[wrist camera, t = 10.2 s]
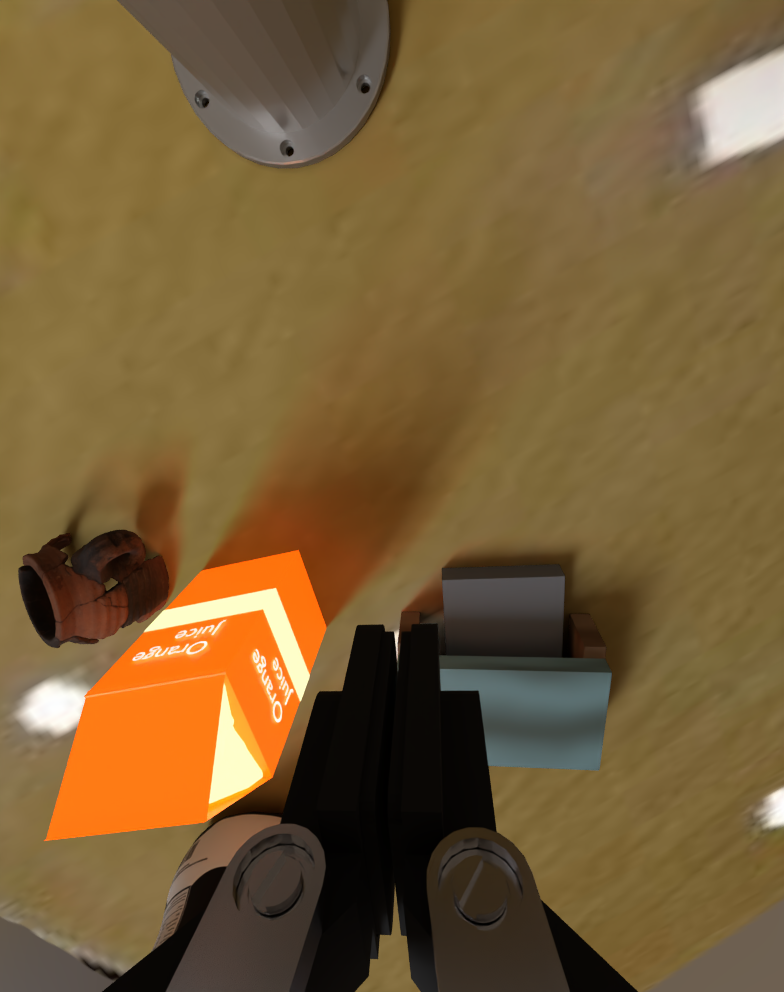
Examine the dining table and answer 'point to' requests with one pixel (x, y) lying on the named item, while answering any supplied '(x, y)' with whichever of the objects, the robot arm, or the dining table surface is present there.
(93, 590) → the pottery mug
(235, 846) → the milk container
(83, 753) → the orange juice
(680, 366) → the dining table surface
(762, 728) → the dining table surface
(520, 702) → the shelf dock
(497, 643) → the slate tile
